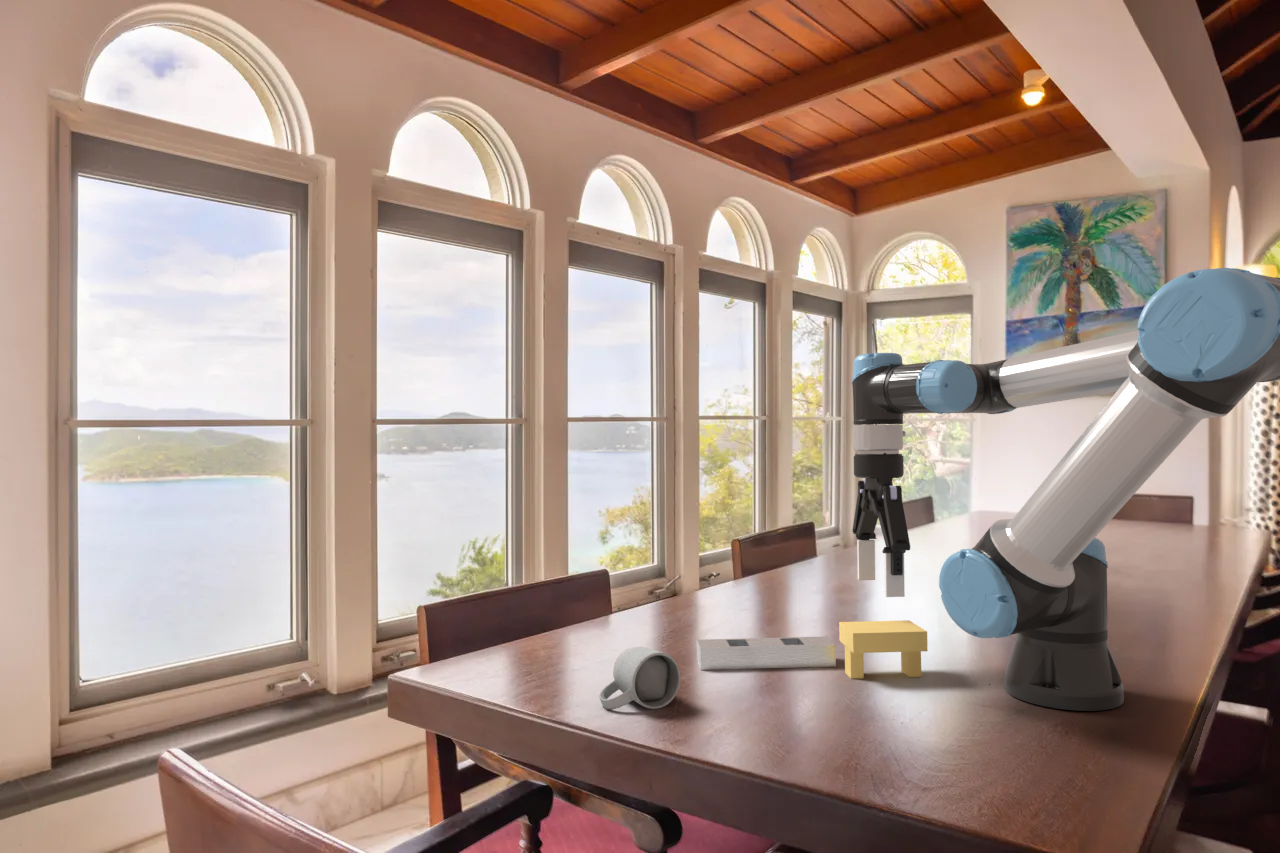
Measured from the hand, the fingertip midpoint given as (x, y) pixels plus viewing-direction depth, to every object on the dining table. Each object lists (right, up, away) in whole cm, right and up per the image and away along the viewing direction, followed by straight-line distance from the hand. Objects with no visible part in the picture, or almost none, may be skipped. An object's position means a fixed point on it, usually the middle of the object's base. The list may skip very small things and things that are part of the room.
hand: (879, 588), depth 130 cm
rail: (-17, -14, +7) cm, 23 cm away
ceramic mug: (-38, -14, -12) cm, 42 cm away
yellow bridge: (0, -14, 0) cm, 14 cm away
